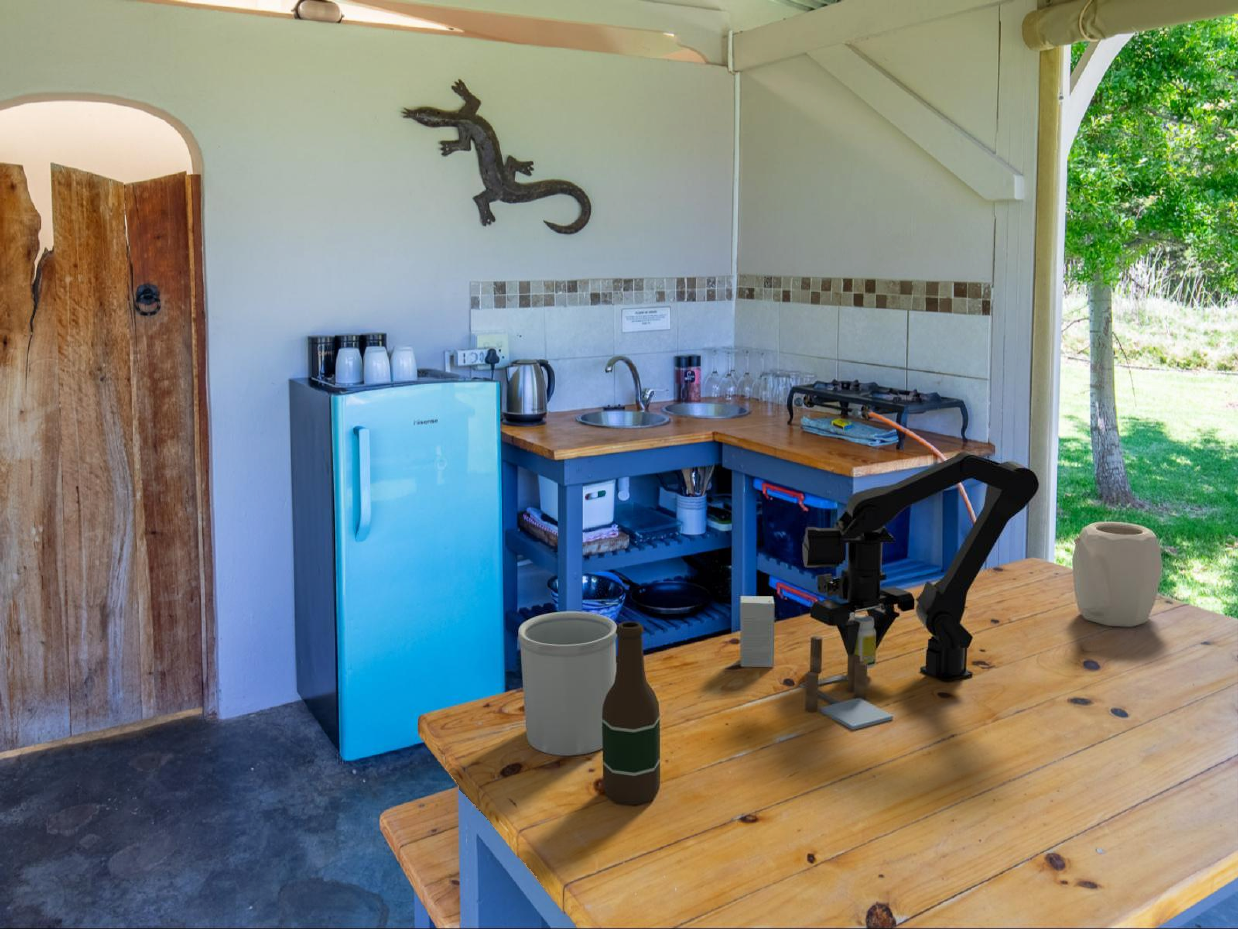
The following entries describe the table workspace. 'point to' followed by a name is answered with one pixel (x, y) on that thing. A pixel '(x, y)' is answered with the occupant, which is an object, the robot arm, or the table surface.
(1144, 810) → the table surface
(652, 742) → the beer bottle
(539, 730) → the utensil holder
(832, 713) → the pad
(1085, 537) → the faceted clay vase
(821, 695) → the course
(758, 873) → the table surface
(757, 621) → the skincare box
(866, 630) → the supplement bottle
